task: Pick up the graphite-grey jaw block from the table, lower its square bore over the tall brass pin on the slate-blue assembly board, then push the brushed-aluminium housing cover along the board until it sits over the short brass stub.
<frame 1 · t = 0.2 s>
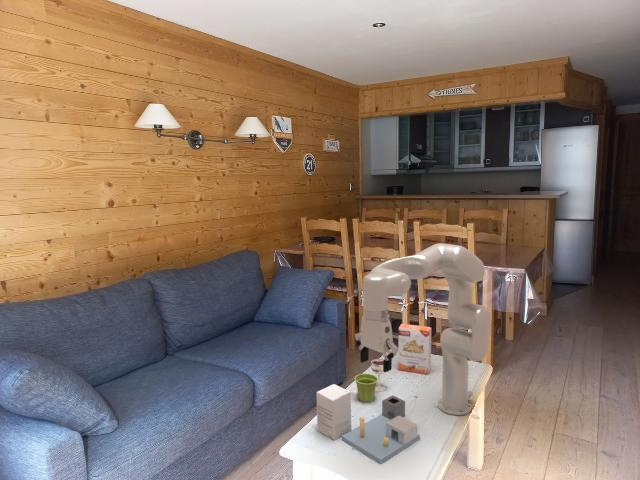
hand: (375, 366, 146), 31 cm above the table, fingers open, 9 cm apart
housing cover: (401, 429, 158), point 4 cm above the table, slide at 0.0 cm
supplement box: (334, 430, 165), on the table
jaw block: (393, 415, 174), on the table
wineglass: (379, 389, 195), on the table
assembly board: (380, 439, 159), on the table
plant pot: (366, 399, 187), on the table
cracker box: (414, 370, 212), on the table
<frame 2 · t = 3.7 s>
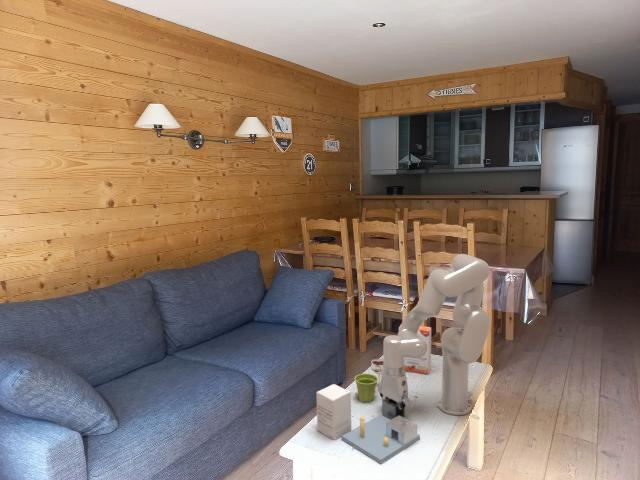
hand: (393, 413, 173), 1 cm above the table, fingers closed on jaw block, 6 cm apart
jaw block: (393, 415, 174), on the table, touching gripper
everything else where it was.
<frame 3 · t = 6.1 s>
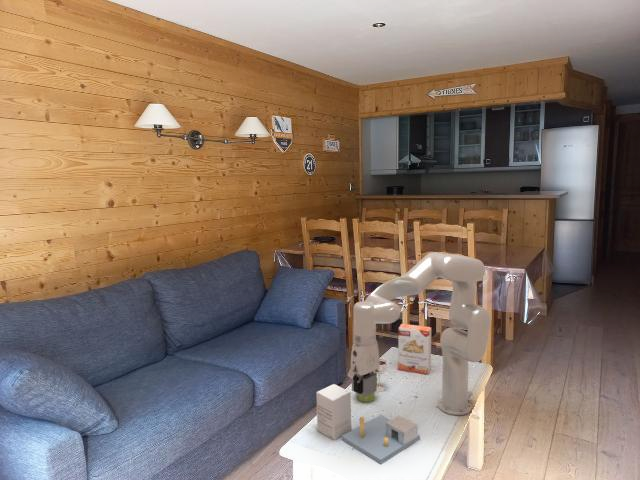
hand: (364, 388, 157), 18 cm above the table, fingers closed on jaw block, 6 cm apart
jaw block: (364, 390, 157), point 17 cm above the table, touching gripper
everything else where it was.
when the fingers open (4 cm above the table, at t = 8.7 s): jaw block drops 1 cm, resting on assembly board.
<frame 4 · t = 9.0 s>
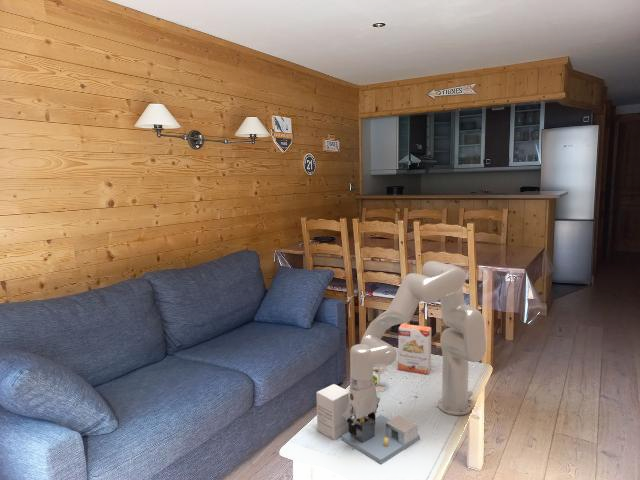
hand: (362, 428, 158), 4 cm above the table, fingers open, 8 cm apart
jaw block: (362, 436, 158), point 1 cm above the table, touching assembly board
everything else where it was.
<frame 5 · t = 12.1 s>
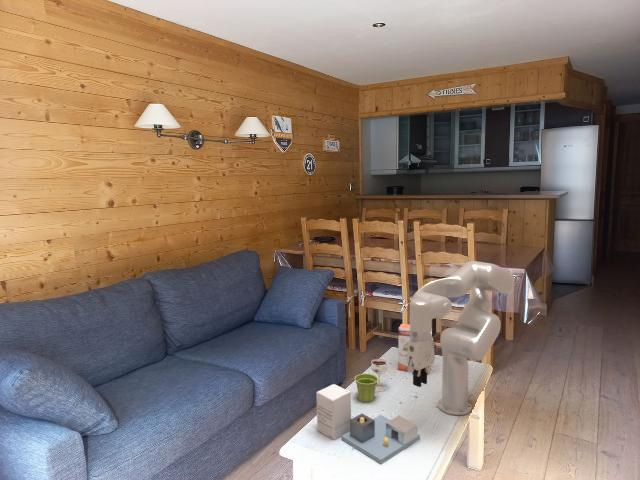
hand: (419, 383, 162), 17 cm above the table, fingers closed
nothing on the table moved.
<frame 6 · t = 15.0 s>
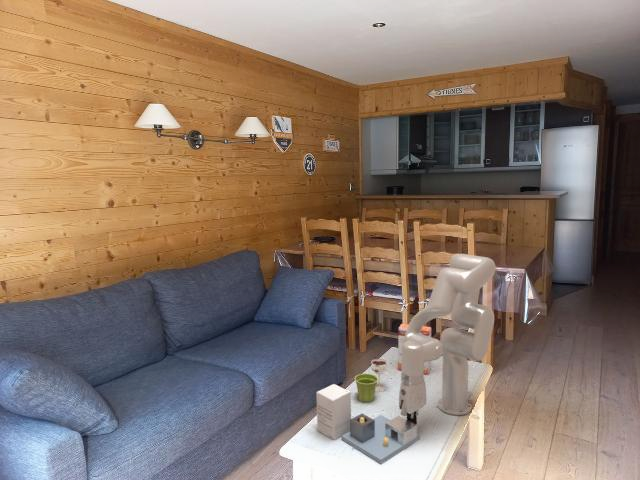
hand: (411, 426, 161), 3 cm above the table, fingers closed
housing cover: (400, 430, 157), point 4 cm above the table, slide at 0.3 cm, touching gripper
everything else where it was.
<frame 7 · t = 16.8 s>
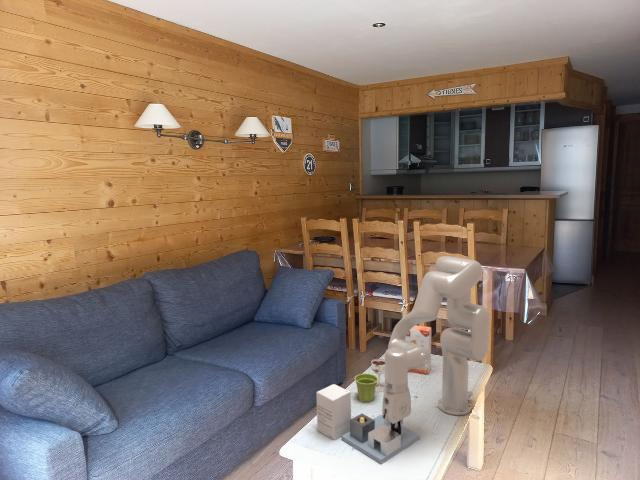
hand: (395, 436, 156), 3 cm above the table, fingers closed
housing cover: (384, 439, 152), point 4 cm above the table, slide at 8.8 cm, touching gripper
everything else where it was.
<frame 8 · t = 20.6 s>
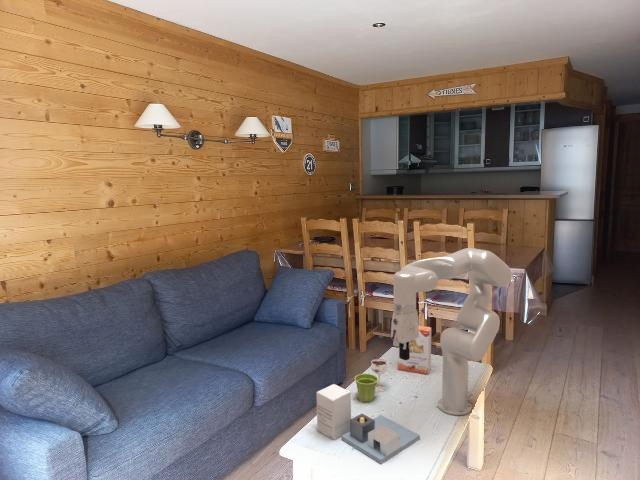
hand: (404, 358, 159), 27 cm above the table, fingers closed
housing cover: (384, 440, 152), point 4 cm above the table, slide at 8.9 cm
everything else where it was.
at the end: jaw block 0.1 cm from the target spot on the assembly board, point 1.5 cm above the assembly board's base; jaw block tilted 0°; housing cover slide at 8.9 cm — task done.
